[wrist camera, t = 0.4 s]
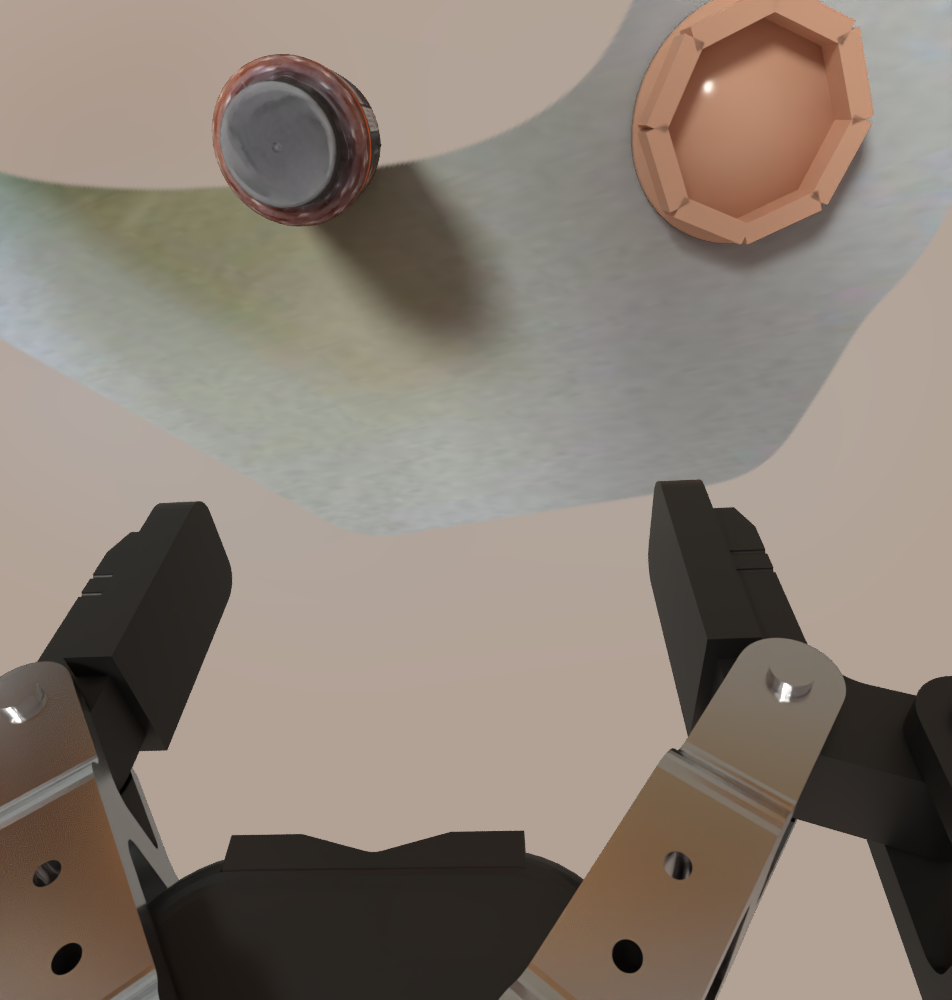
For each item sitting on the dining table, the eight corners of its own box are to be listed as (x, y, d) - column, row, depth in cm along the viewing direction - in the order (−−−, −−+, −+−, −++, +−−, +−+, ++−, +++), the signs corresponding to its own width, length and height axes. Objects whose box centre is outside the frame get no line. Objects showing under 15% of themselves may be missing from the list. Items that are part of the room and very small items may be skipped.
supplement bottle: (327, 232, 37) (288, 275, 27) (231, 137, 34) (149, 146, 24) (408, 141, 35) (398, 150, 25) (313, 35, 33) (260, -1, 23)
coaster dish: (599, 58, 34) (609, 55, 32) (830, -62, 32) (856, -74, 30) (669, 276, 38) (681, 285, 37) (872, 182, 37) (896, 186, 35)
